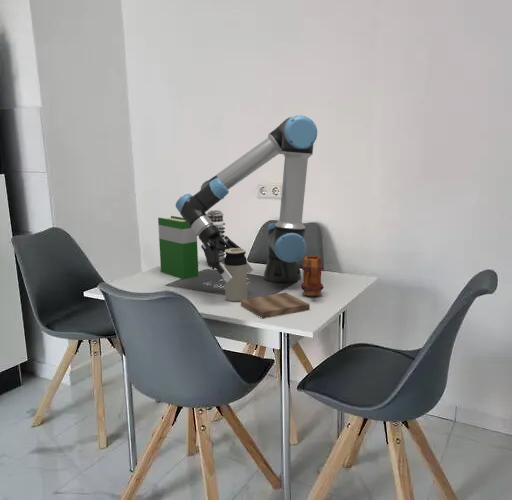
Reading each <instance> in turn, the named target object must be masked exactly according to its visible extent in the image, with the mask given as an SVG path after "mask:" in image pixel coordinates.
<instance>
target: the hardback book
mask: <svg viewBox="0 0 512 500" xmlns="http://www.w3.org/2000/svg"><path fill="white" fill-rule="evenodd" d="M157 221H158V240H159V244H158V245H159V262H160V272H161V273H162V274H166V275H168V276H172V277H175V278H179V279H181V280H189V279H192V278H193V279H194V278H196V277H199V255H198V236H197V235H196V233H195V232H194V231H193V229H192V228H191V227H190V226H189V224H188V223H187V222H186V221H185V219H184V218H183V217H182V216H181V217H180V216H174V215H171V216H170V217H169V218H165V217H158V218H157Z"/></svg>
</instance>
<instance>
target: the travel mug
mask: <svg viewBox="0 0 512 500" xmlns="http://www.w3.org/2000/svg"><path fill="white" fill-rule="evenodd" d="M246 251H247V249H245V248H241V247H240V248H230V249H226V250H225V252H224V254H225V256H224V257H225V259H224V267H225V268H226V269H227V271H228V272H229V273H230V275H231V276H232V278H231V280H230V281H229V282H226V281H225V280H224V296H225V300H226V301H228V302H235V303H236V302H241V300H243V299H248V272H247V260H248V259H247V257H246V253H245V252H246Z"/></svg>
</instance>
